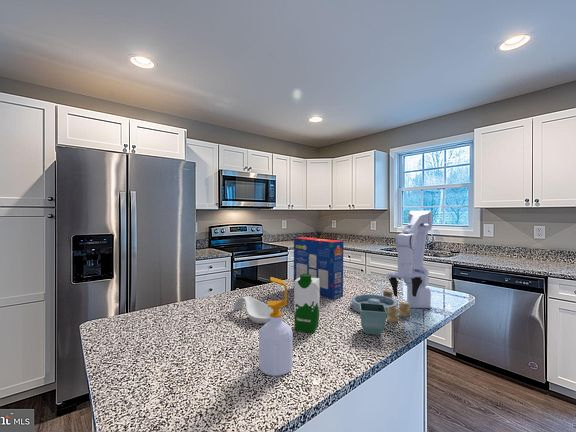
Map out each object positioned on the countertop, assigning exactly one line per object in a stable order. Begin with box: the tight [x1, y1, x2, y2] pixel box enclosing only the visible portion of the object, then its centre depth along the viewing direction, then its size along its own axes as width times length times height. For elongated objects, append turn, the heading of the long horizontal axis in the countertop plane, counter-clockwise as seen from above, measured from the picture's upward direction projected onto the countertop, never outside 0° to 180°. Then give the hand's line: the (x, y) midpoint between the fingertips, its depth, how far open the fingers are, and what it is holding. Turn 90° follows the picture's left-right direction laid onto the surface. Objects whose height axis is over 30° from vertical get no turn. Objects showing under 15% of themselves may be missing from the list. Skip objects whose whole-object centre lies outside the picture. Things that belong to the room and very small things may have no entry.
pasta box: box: [293, 236, 344, 300], centre depth 155 cm, size 28×8×28 cm, turn 42°
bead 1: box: [382, 289, 393, 298], centre depth 139 cm, size 4×4×5 cm
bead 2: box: [386, 307, 399, 324], centre depth 115 cm, size 4×4×5 cm
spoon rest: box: [233, 295, 273, 325], centre depth 119 cm, size 24×12×7 cm, turn 43°
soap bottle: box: [258, 276, 294, 377], centre depth 80 cm, size 9×9×25 cm
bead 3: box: [398, 301, 411, 318], centre depth 121 cm, size 4×4×5 cm
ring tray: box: [350, 293, 399, 317], centre depth 130 cm, size 20×20×4 cm
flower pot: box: [359, 303, 387, 336], centre depth 104 cm, size 9×9×9 cm
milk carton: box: [293, 274, 321, 334], centre depth 107 cm, size 9×9×20 cm
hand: (404, 295), depth 121 cm, fingers open, 7 cm apart
